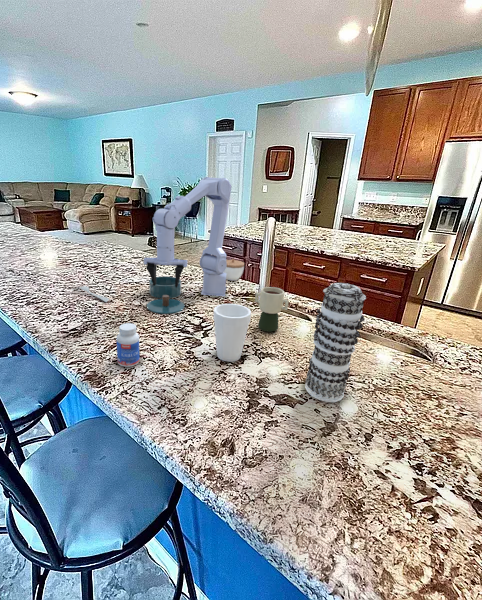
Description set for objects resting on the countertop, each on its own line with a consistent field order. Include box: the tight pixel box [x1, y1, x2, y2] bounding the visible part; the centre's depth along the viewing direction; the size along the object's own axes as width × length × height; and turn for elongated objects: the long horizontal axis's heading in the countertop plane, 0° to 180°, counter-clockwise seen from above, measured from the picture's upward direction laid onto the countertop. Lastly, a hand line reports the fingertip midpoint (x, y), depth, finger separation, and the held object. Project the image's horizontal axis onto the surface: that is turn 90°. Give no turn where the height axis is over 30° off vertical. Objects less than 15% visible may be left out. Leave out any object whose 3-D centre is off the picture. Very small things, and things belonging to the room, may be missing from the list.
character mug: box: [254, 286, 289, 333], centre depth 99 cm, size 11×7×13 cm, turn 54°
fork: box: [75, 285, 110, 303], centre depth 122 cm, size 3×21×3 cm, turn 53°
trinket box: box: [223, 258, 245, 282], centre depth 149 cm, size 11×11×9 cm
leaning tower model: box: [304, 282, 367, 403], centre depth 69 cm, size 9×9×25 cm
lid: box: [146, 295, 185, 315], centre depth 113 cm, size 13×13×5 cm
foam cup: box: [212, 303, 252, 363], centre depth 83 cm, size 10×9×13 cm
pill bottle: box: [116, 322, 140, 368], centre depth 79 cm, size 6×5×10 cm
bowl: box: [148, 275, 182, 299], centre depth 126 cm, size 12×12×6 cm
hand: (165, 285), depth 111 cm, fingers open, 7 cm apart
